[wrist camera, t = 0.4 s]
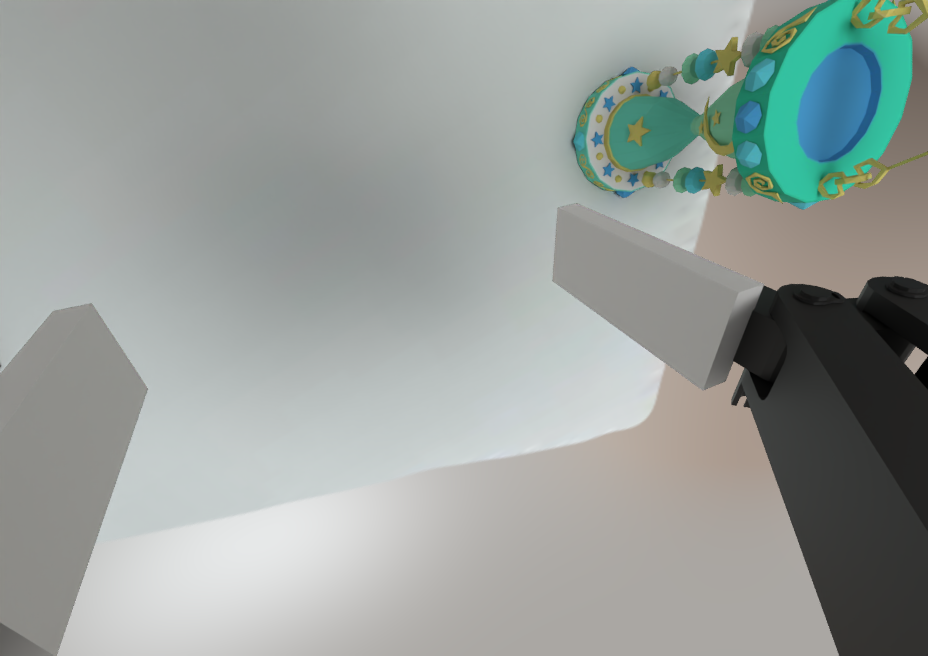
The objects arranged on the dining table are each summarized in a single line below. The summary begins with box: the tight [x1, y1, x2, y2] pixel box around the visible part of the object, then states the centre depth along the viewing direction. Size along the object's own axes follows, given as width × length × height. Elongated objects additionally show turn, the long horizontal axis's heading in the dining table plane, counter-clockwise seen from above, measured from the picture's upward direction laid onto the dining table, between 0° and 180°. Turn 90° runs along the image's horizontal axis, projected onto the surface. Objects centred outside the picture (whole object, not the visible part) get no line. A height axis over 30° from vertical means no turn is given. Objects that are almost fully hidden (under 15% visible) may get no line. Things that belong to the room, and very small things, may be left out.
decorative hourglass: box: [573, 0, 928, 210], centre depth 25 cm, size 11×11×30 cm
